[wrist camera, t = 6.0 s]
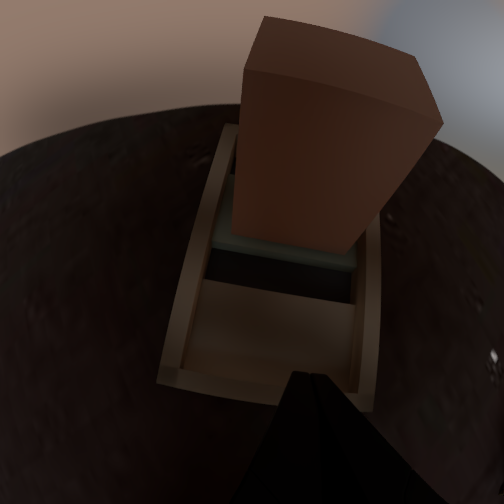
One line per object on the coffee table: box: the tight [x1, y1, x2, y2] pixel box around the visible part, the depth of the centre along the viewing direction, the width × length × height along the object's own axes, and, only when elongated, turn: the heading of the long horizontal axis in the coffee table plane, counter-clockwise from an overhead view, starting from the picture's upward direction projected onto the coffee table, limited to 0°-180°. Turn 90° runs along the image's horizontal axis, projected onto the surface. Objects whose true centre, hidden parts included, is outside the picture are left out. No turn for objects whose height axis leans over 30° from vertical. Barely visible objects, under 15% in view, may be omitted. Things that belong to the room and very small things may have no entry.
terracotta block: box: [231, 16, 444, 255], centre depth 12 cm, size 4×6×9 cm
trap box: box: [156, 123, 381, 412], centre depth 15 cm, size 14×9×2 cm, turn 171°
